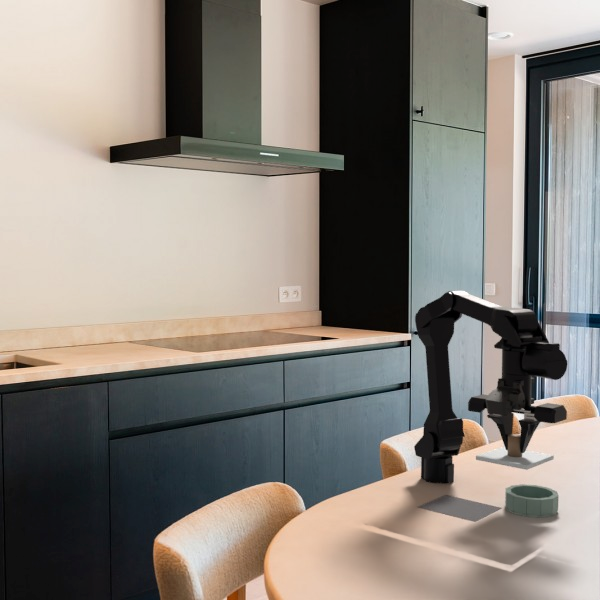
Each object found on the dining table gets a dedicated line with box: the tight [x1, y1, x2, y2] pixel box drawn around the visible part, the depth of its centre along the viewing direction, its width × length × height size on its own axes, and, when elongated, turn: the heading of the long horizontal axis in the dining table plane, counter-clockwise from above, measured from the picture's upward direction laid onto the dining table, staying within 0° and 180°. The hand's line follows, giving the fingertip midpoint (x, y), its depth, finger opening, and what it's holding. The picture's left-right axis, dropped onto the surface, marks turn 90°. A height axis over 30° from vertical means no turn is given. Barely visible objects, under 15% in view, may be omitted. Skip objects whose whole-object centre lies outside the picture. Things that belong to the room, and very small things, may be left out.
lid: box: [475, 433, 555, 471], centre depth 163 cm, size 11×11×5 cm
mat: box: [417, 494, 503, 523], centre depth 165 cm, size 13×11×1 cm
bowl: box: [504, 483, 559, 518], centre depth 164 cm, size 10×10×4 cm
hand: (515, 451), depth 163 cm, fingers closed on lid, 3 cm apart
